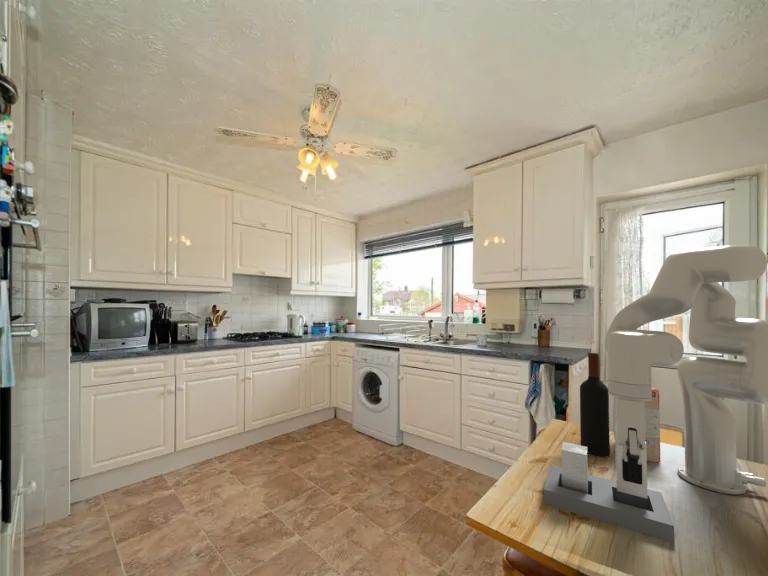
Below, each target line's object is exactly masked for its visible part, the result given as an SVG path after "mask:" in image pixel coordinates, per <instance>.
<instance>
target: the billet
mask: <svg viewBox="0 0 768 576" xmlns="http://www.w3.org/2000/svg"><path fill="white" fill-rule="evenodd" d="M588 455H589V454H587V447H585V446H581V444H576V443H575V444H574V443H570V442H565V441H562V446H561V468H562V487H563V488H566V489H570V490H574V491H577V492H581V493H585V494H588V475H589V471H588V469H589V464H588V463H589V462H588V460H589V459H588V458H589V457H588Z"/></svg>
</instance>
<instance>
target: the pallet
mask: <svg viewBox="0 0 768 576" xmlns="http://www.w3.org/2000/svg"><path fill="white" fill-rule="evenodd" d="M543 504H544V505H548V506H551V507H554V508H558V509H561V510H564V511H568V512H571V513H574V514H577V515H581V516H585V517H587V518H590V519H594V520H597V521H601V522H604V523H607V524H610V525H614V526H617V527H621V528H623V529H628V530H631V531H634V532H637V533H640V534H644V535H647V536H651V537H654V538H657V539H660V540H664V541H667V542H670V543H675V525H674V523H673V520H672V517H671V515H670V512H669V510H668V507H667V504H666V502H665V499H664V496H663V493H662V492H660V491H656V490H653V489H649V488H647V499H646V498H642V497H638V496H635V495H631V494H627V493H623V492H619V491H617V486H616V480H613V479H608V478H604V477H599V476H595V475H591V474H588V494H585V493H581V492H577V491H574V490H570V489H566V488H563V487H562V467H558V466H554V465H549V466H548V471H547V475H546V479H545V484H544V487H543Z"/></svg>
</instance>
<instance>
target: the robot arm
mask: <svg viewBox="0 0 768 576" xmlns="http://www.w3.org/2000/svg"><path fill="white" fill-rule="evenodd" d="M767 268H768V259H767V256H766V254H765V252H764V251H763V250H762V248H760V247H758V246H756V245H722V246H721V245H720V246H719V245H718V246H710V247H700V248H692V249H690V248H689V249H684V250H679V251H675V252H673V253H670V254H669V255H668V256H667V257H666V258H665V260H664V262H663V264H662V266H661V267H660V270H659V272H658V274H657V276H656V278H655V280H654V282H653V284H652V286H651V287H650V290H649V292H648V293H646V294H645V295H643V296H641V297H638V298H637V299H636V300H634V301H633V302H631V303H629V304H627V305H626V306H625V307H623V308H622V309H621V310H619V312H618V313H617V314H615V316H614V317H613V319H612V321H611V324H610V325H609V327H608V330H607V331H606V334H605V338H604V348H605V351H606V353H607V388H608V394H609V396H611V397H613V405H612V407H613V410H612V411H613V415H612V416H613V438H614V444H615V443H616V444H617V445H618V446H620V445H624V446H623V447H624V460H622V464H623V480H624V481H628V482H632V483H636V484H640V485H641V484H642V464H641V453H640V451H641V450H644V449H645V401H651V400H652V388H653V387H652V385H653V384H652V366H661V367H666V366H667V367H669V366H673V365H675V364H677V363H678V366H677V377H678V381H679V384H680V389H681V394H682V403H683V404H682V405H683V406H682V407H683V432H684V433H683V435H684V436H683V438H684V464H681V465H679V466H678V467H677V474H678V475H679V476H680V477H681V478H682V479H684V480H685V481H687V482H688V483H690V484H693V485H696V486H698V487H700V488H703V489H706V490H709V491H713V492H716V493H722V494H727V495H736V496H737V495H743V494H746V493H747V485H748V484H749V485H754V486H757V487H758V486H759V487H762V488H766V487H767V481H766V479H765V478H764V477H760V476H754V474H753V473H751V472H744V471H741V470H740V469H739V468H738V467H737V443H736V441H737V440H736V418H735V415H734V413H733V410H732V409H731V407H730V406H729V404H727V403H726V401H725V400H724V399H728V400H729V399H730V400H735V401H739V402H744V403H750V404H756V405H767V404H768V321H767V320H765V319H760V318H749V317H747V318H746V317H736V304H737V303H736V299H735V297H734V295H732V293H731V292H730V291H729V290H728V289H726V288H725V287H724V286H722V285H721V284H720V283H730V282H737V283H738V282H748V281H755V280H758V279H760V278H761V277H763V275H764V274H765V272H766V270H767ZM688 311H690V314H689V326H688V341H689V345H690V346H691V347H692V348H693V349H695V350H696V351H700V352H703V353H704V352H705V353H710V354H718V355H727V356H735V357H744V358H745V359H746V362H745V361H740V360H733V359H732V360H731V359H725V358H717V357H707V356H690V357H685V358H684V359H682V358H683V355H684V353H685V352H684V351H685V349H684V348H685V347H684V344H683V343H682V340H681V339H680V338H679V337H678V336H676V335H675V334H674V333H671V332H667V331H661V330H646V329H639V328H641V327H642V326H645V325H647V324H650V323H651V322H657V321H660V320H664V319H668V318H671V317H675V316H678V315H681V314H685V313H686V312H688ZM681 359H682V360H681ZM679 361H680V362H679ZM626 443H629V446H626ZM637 444H638V448H637ZM640 444H642V445H640ZM627 449H629V452H628V453H627ZM640 449H641V450H640Z"/></svg>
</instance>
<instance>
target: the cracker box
mask: <svg viewBox="0 0 768 576" xmlns="http://www.w3.org/2000/svg"><path fill="white" fill-rule="evenodd" d="M660 414H661V413H660V390H659V389H657V388H655V387H652V400H651V401H645V441H646V451H647V462H652V463H661V425H660V422H661V420H660V418H661V417H660Z"/></svg>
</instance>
